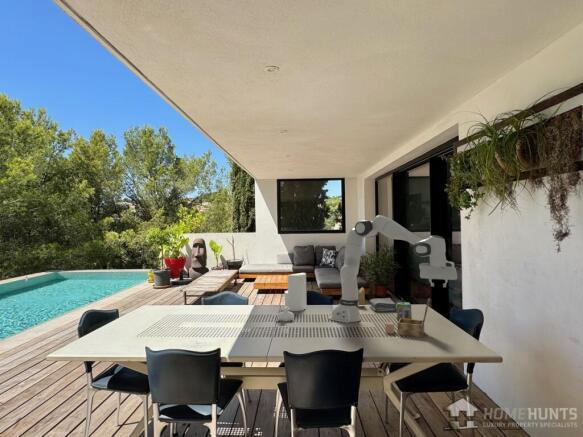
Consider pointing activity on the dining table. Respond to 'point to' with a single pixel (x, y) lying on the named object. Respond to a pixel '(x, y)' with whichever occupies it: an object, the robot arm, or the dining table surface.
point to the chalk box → (403, 310)
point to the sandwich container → (361, 297)
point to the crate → (410, 327)
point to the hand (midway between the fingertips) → (438, 286)
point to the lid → (426, 311)
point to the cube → (389, 327)
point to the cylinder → (296, 292)
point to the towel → (383, 304)
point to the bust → (285, 314)
